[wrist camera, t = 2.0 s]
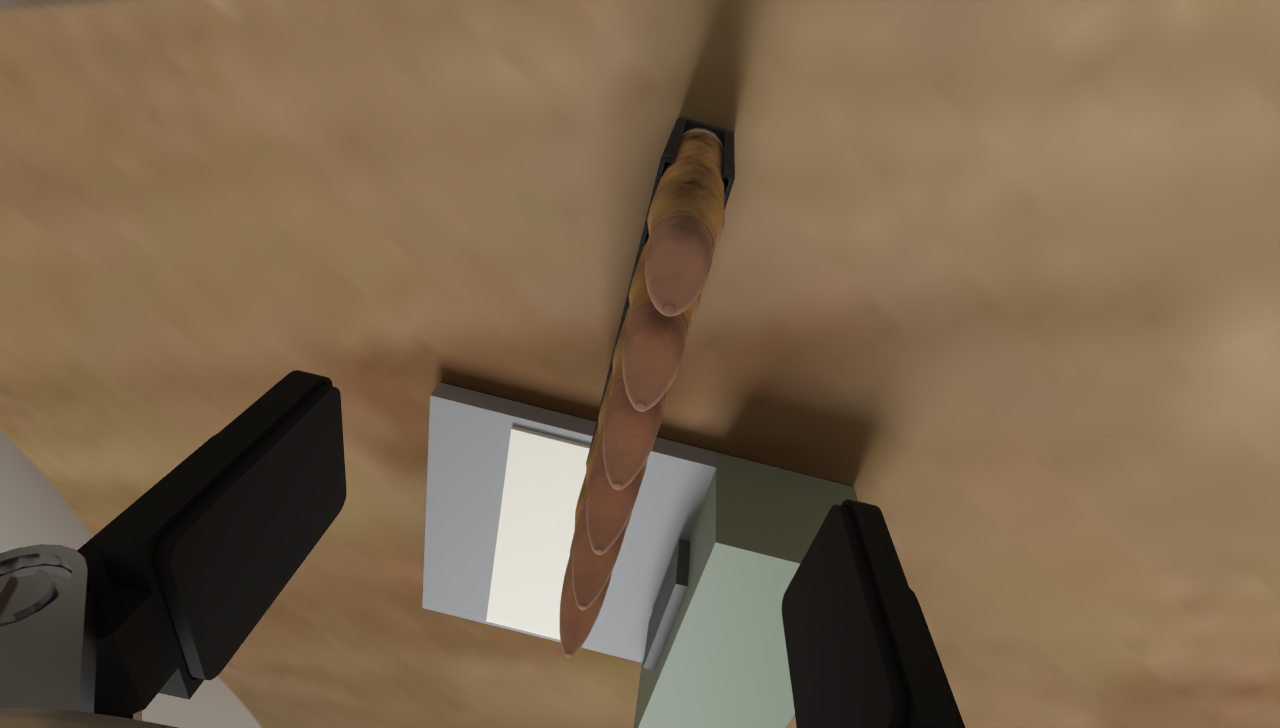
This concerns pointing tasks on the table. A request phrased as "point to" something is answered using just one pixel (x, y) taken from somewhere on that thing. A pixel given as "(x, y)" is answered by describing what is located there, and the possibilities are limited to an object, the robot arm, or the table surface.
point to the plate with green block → (624, 554)
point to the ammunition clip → (646, 358)
